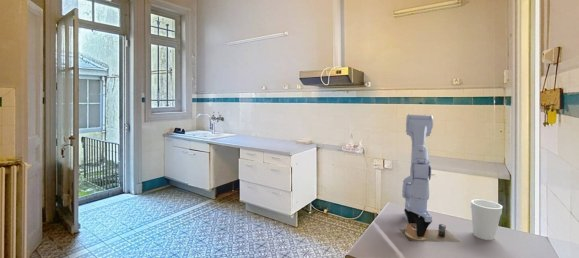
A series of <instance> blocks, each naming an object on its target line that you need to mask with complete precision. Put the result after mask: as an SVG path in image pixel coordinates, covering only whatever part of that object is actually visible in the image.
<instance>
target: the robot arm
mask: <svg viewBox="0 0 579 258" xmlns="http://www.w3.org/2000/svg"><path fill="white" fill-rule="evenodd" d="M405 121H406V122H405V132H406V135H407V136H409V137H410V138H411V139H410V140H411V157H410V158H411V159H410V161H411V162H410V168H409V176H407V177H405V178H404V180H403V182H402V183H403V184H402V194H401V196H402V198H403V199H405V202H404V203H405V204H404V210H403V212H404V219H405V220H406V221H407V222H408V223H416V227H417V236H418V237H424V235H425V232H426V230H427V229H428V227H430V225H431V224H432V223H433V216H432V215H431V214H430V212H429V210H428V209H427V208H428V201H429V199H430V183H429V181H430V180H431V178H432V165H431V161H430V152H429V148H428V147H427V146H426V140H427V137H429V136H431V134H432V130H433V128H434V117H433V115H432V114H409V113H408V114H406V120H405Z"/></svg>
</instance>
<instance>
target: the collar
mask: <svg viewBox="0 0 579 258" xmlns="http://www.w3.org/2000/svg"><path fill="white" fill-rule="evenodd" d="M412 224H416V223H406V228H405V229H406V231H407V232H408V233H409V234H410V235H411V236H412V237H413V238H427V236H428V230H429V229H428V228H427V230H426V232H425V235H424V237H418V236H417V229H414V228H413V227H412Z"/></svg>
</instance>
